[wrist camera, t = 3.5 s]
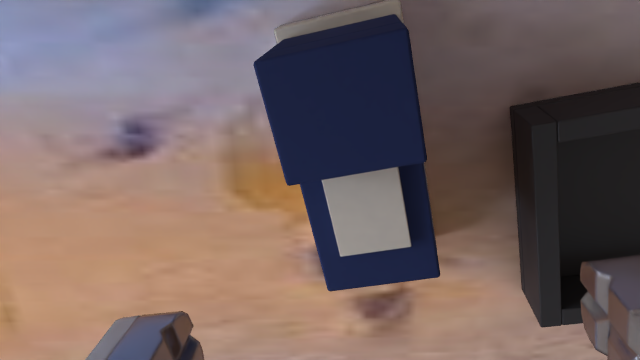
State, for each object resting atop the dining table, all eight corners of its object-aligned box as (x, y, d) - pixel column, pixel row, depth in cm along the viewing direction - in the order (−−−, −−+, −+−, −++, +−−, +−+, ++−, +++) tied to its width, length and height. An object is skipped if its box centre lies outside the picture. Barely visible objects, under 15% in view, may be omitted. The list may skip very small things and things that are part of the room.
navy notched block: (278, 25, 17) (239, 48, 12) (397, -3, 16) (414, 8, 11) (335, 252, 21) (325, 347, 15) (433, 238, 20) (458, 332, 15)
